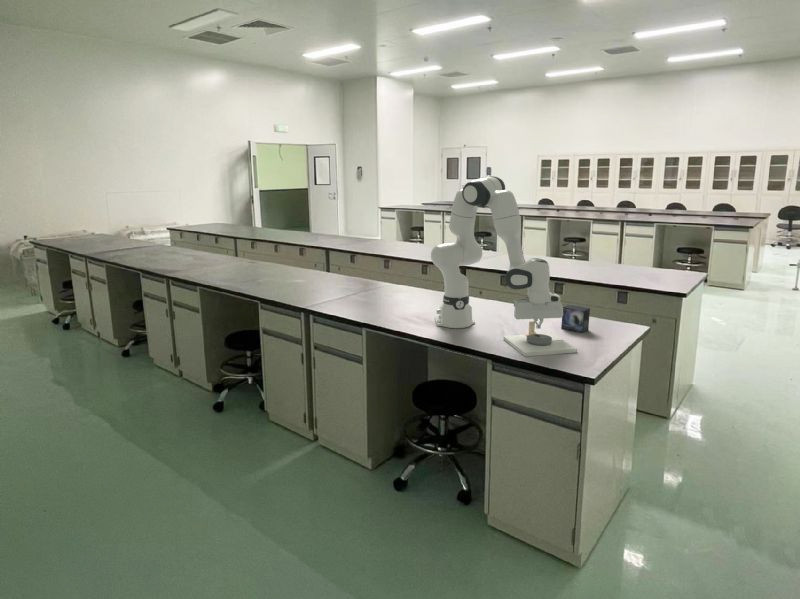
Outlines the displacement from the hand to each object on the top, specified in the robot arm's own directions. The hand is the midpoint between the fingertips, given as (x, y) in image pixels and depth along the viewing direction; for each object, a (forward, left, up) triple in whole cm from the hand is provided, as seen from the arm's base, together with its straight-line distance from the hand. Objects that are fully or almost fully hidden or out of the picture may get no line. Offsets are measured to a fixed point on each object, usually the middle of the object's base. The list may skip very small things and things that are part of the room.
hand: (538, 328), depth 222 cm
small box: (-9, +22, -5) cm, 25 cm away
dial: (+6, -3, -3) cm, 7 cm away
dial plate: (+9, -4, -5) cm, 10 cm away
